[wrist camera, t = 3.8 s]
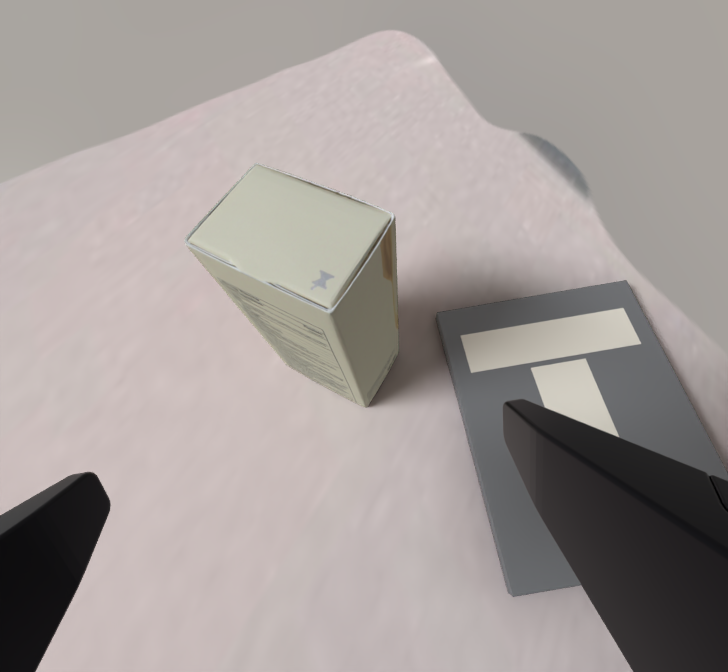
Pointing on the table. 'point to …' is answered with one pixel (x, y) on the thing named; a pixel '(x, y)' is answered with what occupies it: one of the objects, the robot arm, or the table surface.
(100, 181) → the table surface
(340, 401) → the table surface
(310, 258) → the skincare box
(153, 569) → the table surface
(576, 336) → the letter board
